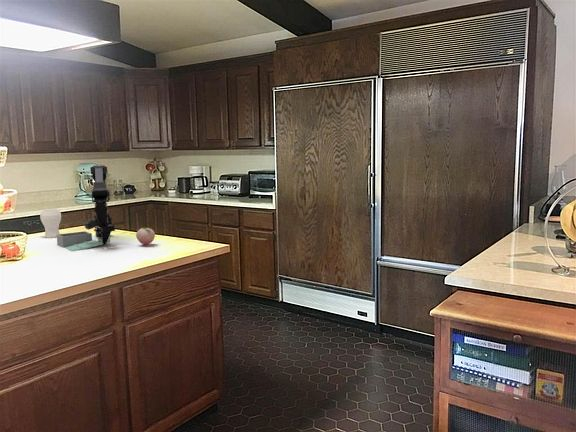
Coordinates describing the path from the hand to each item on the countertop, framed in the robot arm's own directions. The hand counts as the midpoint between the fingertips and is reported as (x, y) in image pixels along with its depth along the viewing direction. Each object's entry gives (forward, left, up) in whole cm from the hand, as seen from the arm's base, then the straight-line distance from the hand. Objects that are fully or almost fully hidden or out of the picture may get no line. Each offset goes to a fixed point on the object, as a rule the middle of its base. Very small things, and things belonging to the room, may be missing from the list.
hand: (103, 243), depth 240 cm
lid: (+7, 0, -1) cm, 7 cm away
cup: (+11, -49, -2) cm, 50 cm away
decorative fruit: (-17, +13, -2) cm, 21 cm away
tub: (+10, -12, -1) cm, 16 cm away
